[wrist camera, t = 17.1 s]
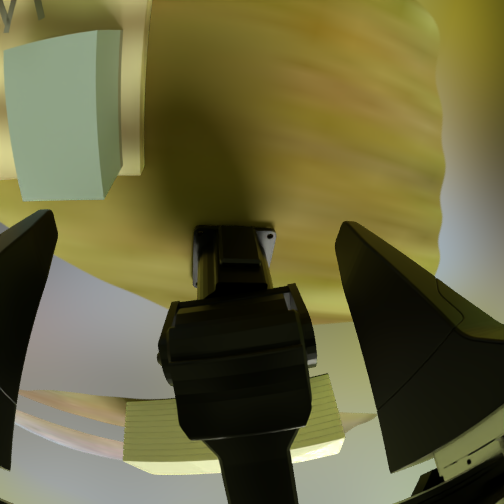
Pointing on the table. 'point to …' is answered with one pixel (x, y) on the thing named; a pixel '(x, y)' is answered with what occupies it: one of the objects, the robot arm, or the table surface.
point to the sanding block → (65, 115)
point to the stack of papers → (199, 455)
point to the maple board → (76, 21)
